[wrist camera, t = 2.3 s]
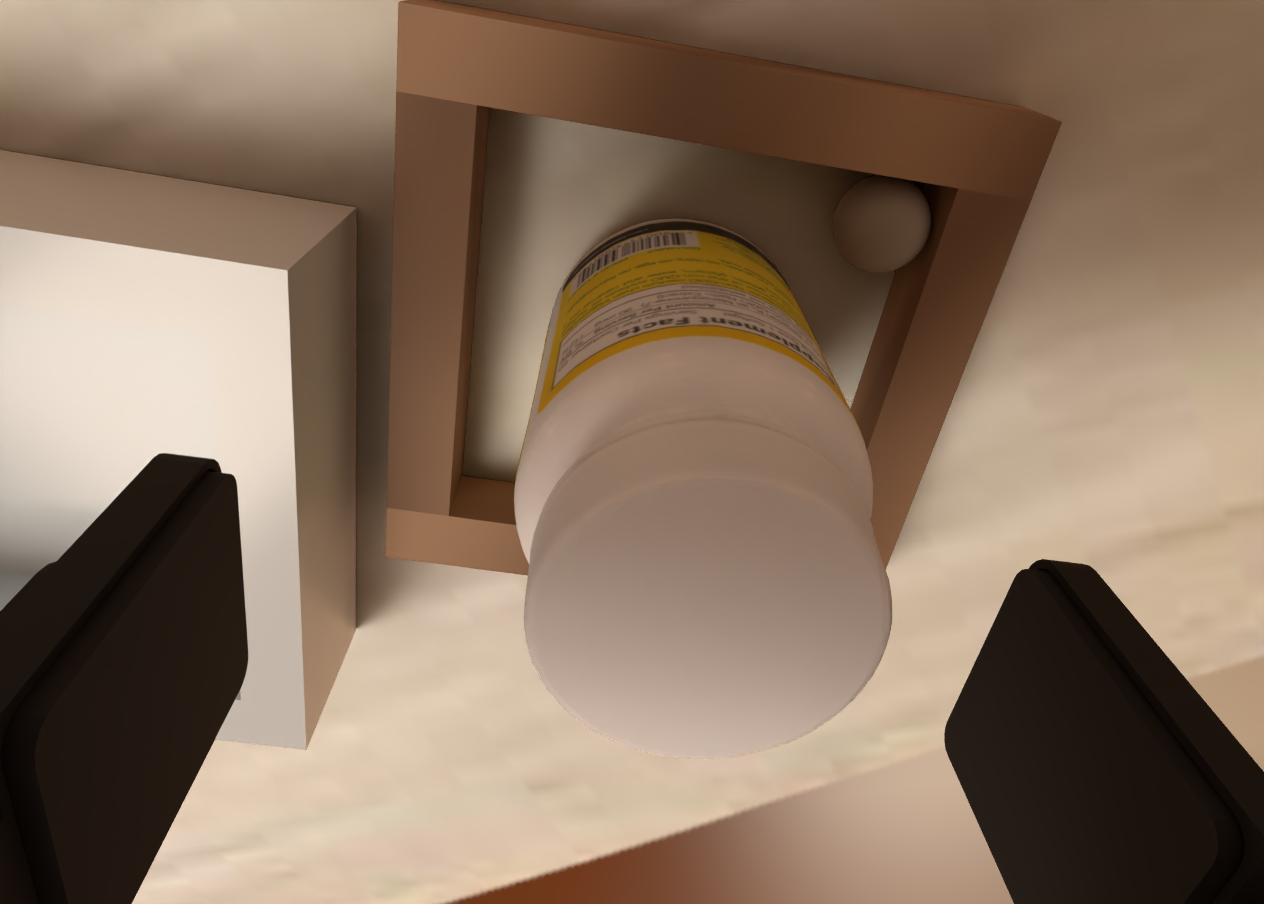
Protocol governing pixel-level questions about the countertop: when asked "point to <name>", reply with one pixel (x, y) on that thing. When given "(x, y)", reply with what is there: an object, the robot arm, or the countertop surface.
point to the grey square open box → (188, 393)
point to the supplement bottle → (695, 504)
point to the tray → (711, 115)
